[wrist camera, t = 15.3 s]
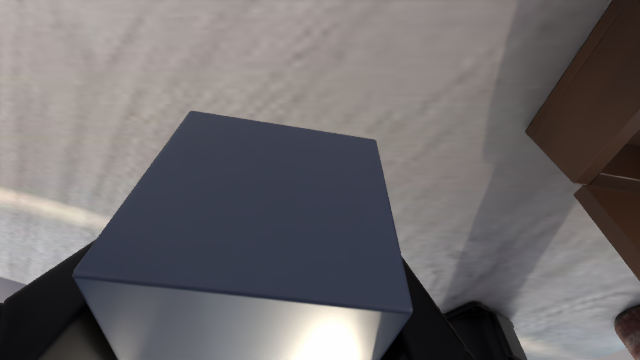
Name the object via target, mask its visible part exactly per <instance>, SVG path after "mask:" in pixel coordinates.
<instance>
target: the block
mask: <svg viewBox="0 0 640 360" xmlns="http://www.w3.org/2000/svg"><path fill="white" fill-rule="evenodd" d="M73 279H74V281H75V283H76V284H77V286H78V288H79V290H80V292H81V294H82V295H83V297H84V299H85V301H86V303H87V304H88V306H89V308H90V310H91V312H92V314H93V315H94V317H95V319H96V321H97V323H98V325H99V326H100V328H101V330H102V332H103V334H104V335H105V337H106V339H107V341H108V343H109V345H110V346H111V348H112V350H113V352H114V354H115V356H116V357H117V359H118V360H381V359H382V357H383V356H384V354H385V353H386V351H387V350H388V348H389V347H390V345H391V344H392V343H393V341H394V340H395V338H396V337H397V335H398V334H399V332H400V331H401V329H402V328H403V327H404V325H405V324H406V322H407V321H408V319H409V318H410V316H411V315H412V312H413V307H412V302H411V298H410V293H409V289H408V284H407V280H406V275H405V270H404V266H403V261H402V257H401V252H400V248H399V243H398V238H397V234H396V229H395V225H394V220H393V216H392V211H391V206H390V202H389V197H388V193H387V188H386V184H385V179H384V175H383V170H382V165H381V161H380V156H379V152H378V147H377V143H376V140H374V139H368V138H362V137H355V136H349V135H343V134H336V133H330V132H324V131H317V130H311V129H305V128H298V127H292V126H286V125H279V124H273V123H267V122H260V121H254V120H248V119H241V118H235V117H229V116H222V115H216V114H210V113H204V112H197V111H190V112H189V113H188V115H187V116H186V118H185V119H184V120H183V122H182V123H181V124H180V126H179V127H178V128H177V130H176V131H175V133H174V134H173V135H172V137H171V138H170V139H169V141H168V142H167V144H166V145H165V146H164V148H163V149H162V150H161V152H160V153H159V154H158V156H157V157H156V159H155V160H154V161H153V163H152V164H151V165H150V167H149V168H148V170H147V171H146V172H145V174H144V175H143V176H142V178H141V179H140V180H139V182H138V183H137V185H136V186H135V187H134V189H133V190H132V191H131V193H130V194H129V196H128V197H127V198H126V200H125V201H124V202H123V204H122V205H121V206H120V208H119V209H118V211H117V212H116V213H115V215H114V216H113V217H112V219H111V220H110V222H109V223H108V224H107V226H106V227H105V228H104V230H103V231H102V232H101V234H100V235H99V237H98V238H97V239H96V241H95V242H94V243H93V245H92V246H91V248H90V249H89V250H88V252H87V253H86V254H85V256H84V257H83V258H82V260H81V261H80V263H79V264H78V265H77V267H76V268H75V269H74V272H73Z"/></svg>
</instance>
